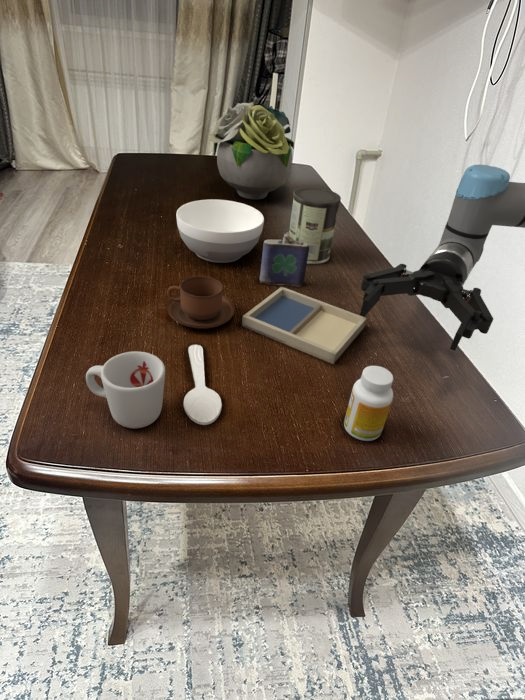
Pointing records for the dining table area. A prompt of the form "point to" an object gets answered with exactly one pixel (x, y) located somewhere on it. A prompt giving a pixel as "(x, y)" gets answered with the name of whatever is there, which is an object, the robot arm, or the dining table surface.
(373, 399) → the supplement bottle
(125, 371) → the cup
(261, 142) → the flower arrangement
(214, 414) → the spoon
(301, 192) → the coffee can
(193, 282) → the cup and saucer
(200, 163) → the dining table surface
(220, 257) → the bowl
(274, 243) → the flask
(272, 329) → the sorting tray
